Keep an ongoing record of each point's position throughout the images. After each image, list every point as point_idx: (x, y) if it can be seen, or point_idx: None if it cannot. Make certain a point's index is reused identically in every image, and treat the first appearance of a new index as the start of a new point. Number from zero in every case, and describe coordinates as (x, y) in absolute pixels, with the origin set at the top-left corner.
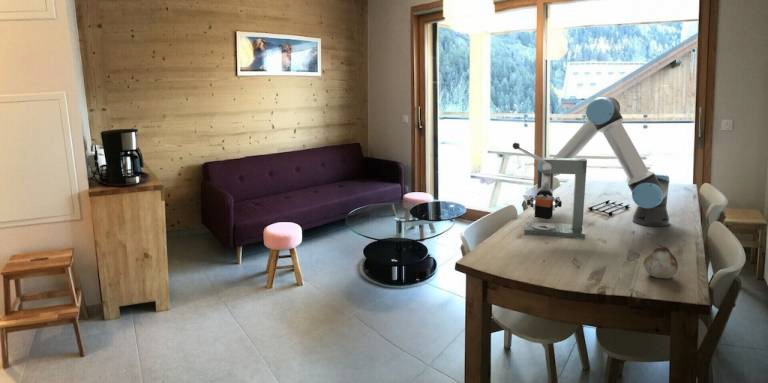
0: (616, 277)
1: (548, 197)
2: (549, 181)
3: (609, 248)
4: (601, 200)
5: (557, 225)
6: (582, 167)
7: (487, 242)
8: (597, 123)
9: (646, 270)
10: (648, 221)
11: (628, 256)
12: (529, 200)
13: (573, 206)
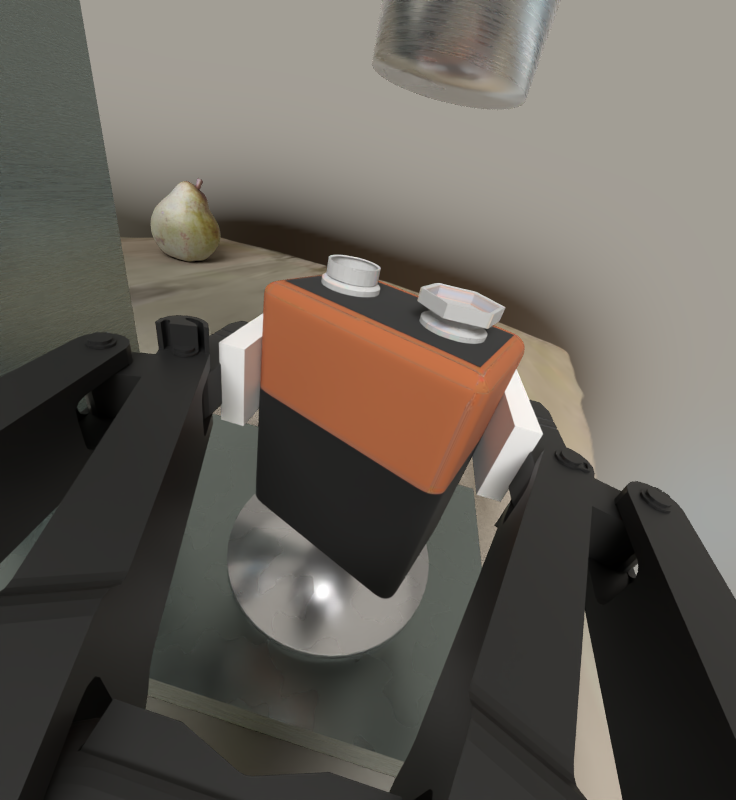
0: (276, 273)
1: (356, 260)
2: None
3: (139, 331)
4: None
5: (177, 575)
6: None
7: (584, 433)
8: None
9: (215, 249)
10: None
11: (144, 296)
12: (622, 491)
13: (74, 283)
